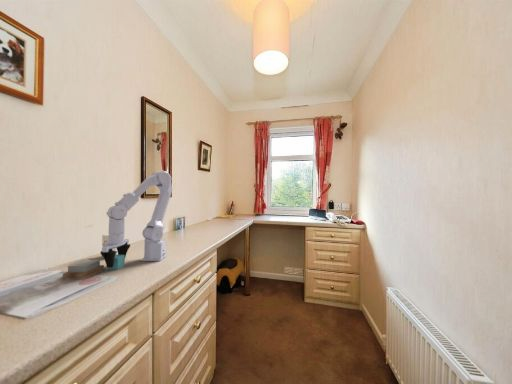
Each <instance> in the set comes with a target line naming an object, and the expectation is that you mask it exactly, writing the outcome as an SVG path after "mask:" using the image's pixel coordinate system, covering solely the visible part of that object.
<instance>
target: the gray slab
mask: <svg viewBox="0 0 512 384" xmlns="http://www.w3.org/2000/svg"><path fill="white" fill-rule="evenodd" d="M100 265H101V260H100V259H82V260H80V261H77V262H75V263H72V264H70V265H68V266H67V272H70V273H86V272H88V271H90V270H93V269H95V268H97V267H99V266H100Z"/></svg>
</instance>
